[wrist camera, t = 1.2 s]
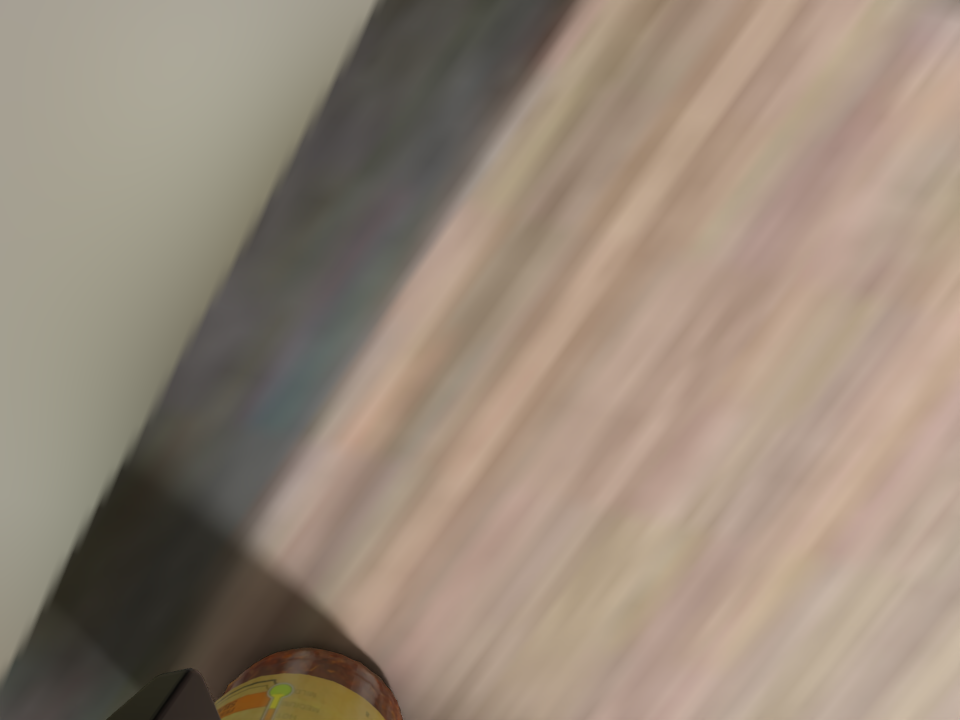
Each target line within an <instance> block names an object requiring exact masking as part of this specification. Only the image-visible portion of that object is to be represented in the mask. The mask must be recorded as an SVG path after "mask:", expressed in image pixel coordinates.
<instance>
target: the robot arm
mask: <svg viewBox="0 0 960 720" xmlns="http://www.w3.org/2000/svg"><path fill="white" fill-rule="evenodd" d="M106 720H221V718H220V716H219V713H218V711H217V709H216V706H215V704H214V702H213V699H212V697H211V695H210V692H209V690H208V688H207V685H206V683H205V681H204V679H203V677H202V675H201V674H200V673H199V672H198V671H197V670H195V669H192V668H189V669H184V670H179V671H174V672H169V673H165V674H161V675H159V676H157V677H155V678H154V679H153V680H152V681H151V682H149V683H148V684H147V685H146V686H145V687H144V688H142V689H141V690H140V691H139V692H138V693H137V694H135V695H134V696H133V697H132V698H131V699H130V700H128V701H127V702H126V703H125V704H124V705H123V706H122V707H120V708H119V709H118V710H117V711H116V712H115V713H113V714H112V715H111V716H110V717H109V718H108V719H106Z"/></svg>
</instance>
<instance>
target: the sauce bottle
mask: <svg viewBox="0 0 960 720" xmlns="http://www.w3.org/2000/svg"><path fill="white" fill-rule="evenodd" d="M214 704H215V706H216V709H217V711H218V713H219V716H220V718H221V720H403V719H402V715H401V711H400V708H399V706H398V702H397V700H396V699H395V697H394V695H393V693H392V692H391V691H390V689H389V688H388V687H387V686H386V685H385V683H384V682H383V681H382V679H381V678H380V677H379V676H378V675H376V674H375V673H373V672H372V671H370V670H369V669H368V668H367V667H366V666H364V665H363V664H362V663H361V662H359V661H354V660H352V659H349V658H348V657H346V656H345V655H342V654H339V653H335V652H331V651H327V650H323V649H317V648H299V649H290V650H286V651H281V652H276V653H274V654H271V655H269V656H267V657H265V658H263V659H262V660H260V661H258V662H256V663H255V664H253V665H252V666H251V667H250V668H248V669H247V670H245V671H244V672H243V673H242V674H241V675H240V676H239V677H238V678H237V679H236V680H234V681H233V682H231V683H230V684H229V685H228V686H227V689H226V691H225V693H224V694H223V696H222V697H221V698H219V699H218V700H217V701H216V702H215V703H214Z"/></svg>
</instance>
